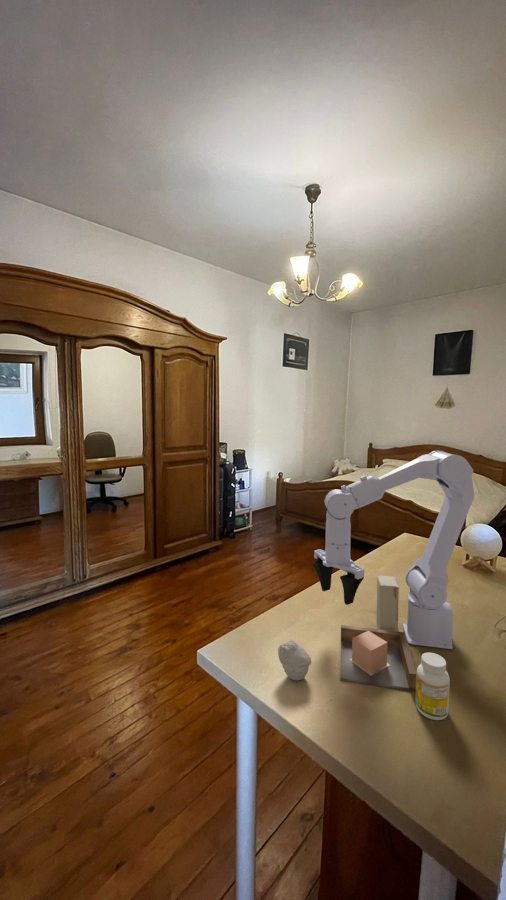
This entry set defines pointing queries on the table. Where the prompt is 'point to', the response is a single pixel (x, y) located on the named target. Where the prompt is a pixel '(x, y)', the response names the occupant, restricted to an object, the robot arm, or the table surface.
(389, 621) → the skincare box
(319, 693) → the table surface
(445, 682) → the supplement bottle
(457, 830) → the table surface
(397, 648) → the tray
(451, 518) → the robot arm
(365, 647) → the cube
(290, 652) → the frog figurine
